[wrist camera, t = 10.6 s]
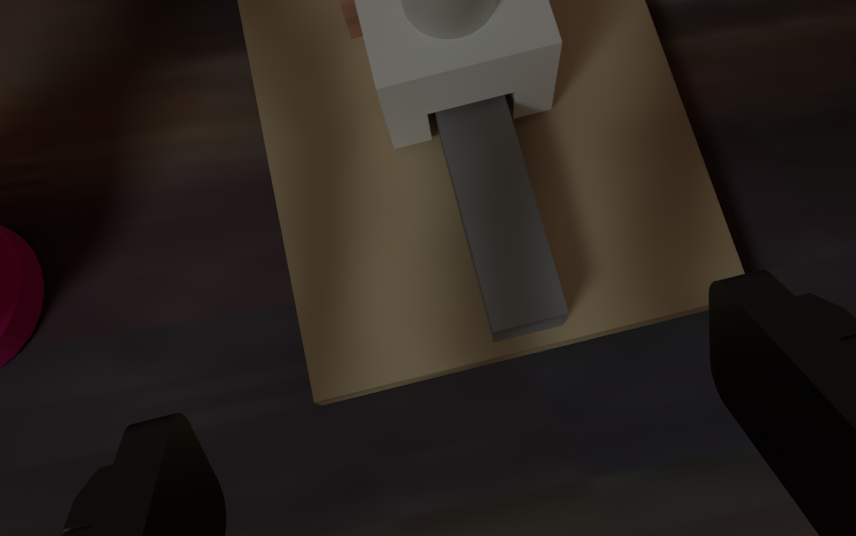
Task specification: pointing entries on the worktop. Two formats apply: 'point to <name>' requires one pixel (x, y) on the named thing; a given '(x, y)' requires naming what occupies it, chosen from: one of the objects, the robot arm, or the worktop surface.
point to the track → (409, 217)
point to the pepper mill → (18, 293)
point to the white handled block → (458, 57)
